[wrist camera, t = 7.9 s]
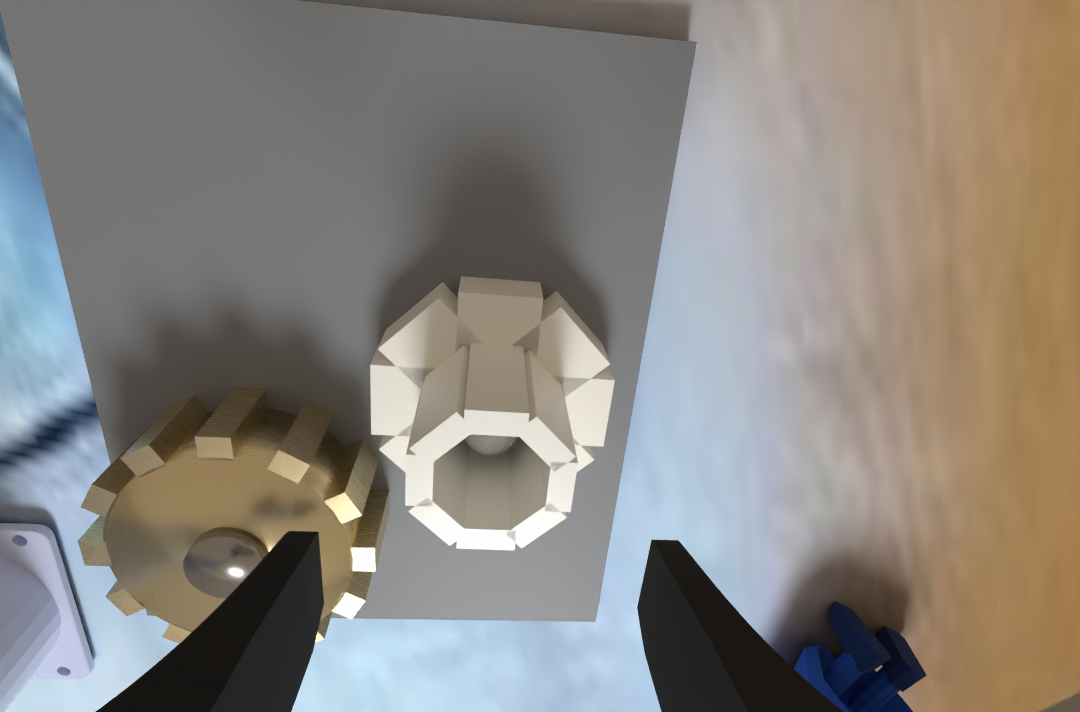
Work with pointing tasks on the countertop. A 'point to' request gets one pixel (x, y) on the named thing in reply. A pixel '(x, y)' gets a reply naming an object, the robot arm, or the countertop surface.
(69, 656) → the robot arm
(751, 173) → the countertop surface
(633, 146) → the carrier plate
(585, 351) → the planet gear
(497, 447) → the carrier pin
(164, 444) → the sun gear
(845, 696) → the toy
